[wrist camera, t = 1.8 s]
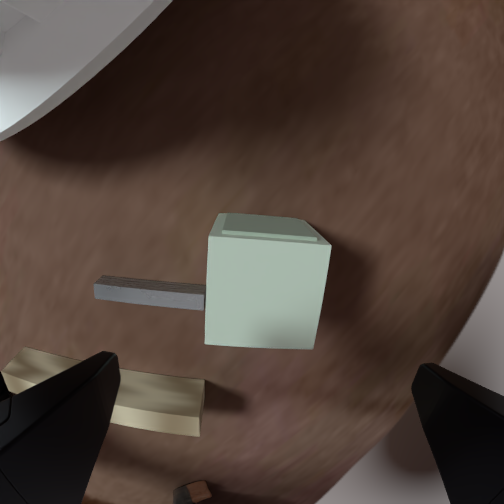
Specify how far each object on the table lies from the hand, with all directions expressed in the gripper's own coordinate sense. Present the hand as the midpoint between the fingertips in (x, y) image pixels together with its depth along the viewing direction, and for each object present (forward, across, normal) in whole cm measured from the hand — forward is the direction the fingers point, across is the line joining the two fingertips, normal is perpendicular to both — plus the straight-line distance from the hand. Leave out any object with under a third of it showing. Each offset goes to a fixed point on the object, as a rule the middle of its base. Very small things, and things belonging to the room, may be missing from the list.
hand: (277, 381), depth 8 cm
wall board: (+11, +11, +10) cm, 19 cm away
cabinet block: (+11, 0, 0) cm, 11 cm away
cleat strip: (+11, +6, +2) cm, 13 cm away
